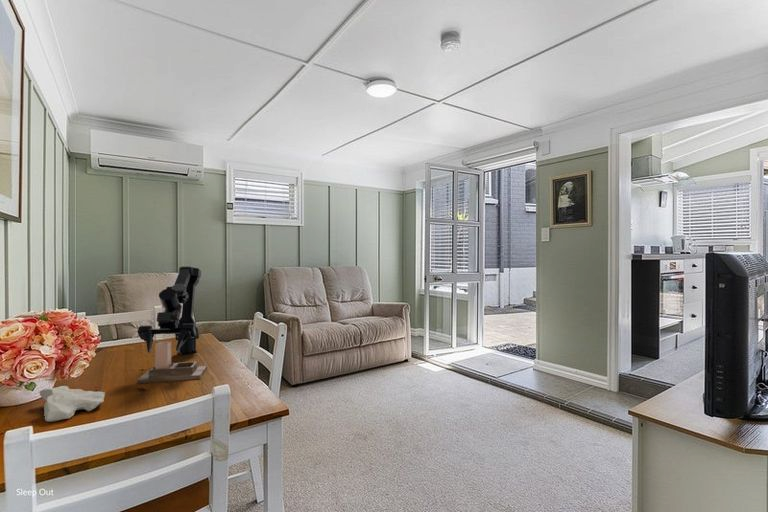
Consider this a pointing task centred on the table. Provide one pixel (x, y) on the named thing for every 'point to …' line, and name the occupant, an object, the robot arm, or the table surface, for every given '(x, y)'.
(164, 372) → the rack
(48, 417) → the rock
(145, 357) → the table surface
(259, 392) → the table surface
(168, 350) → the clay block
